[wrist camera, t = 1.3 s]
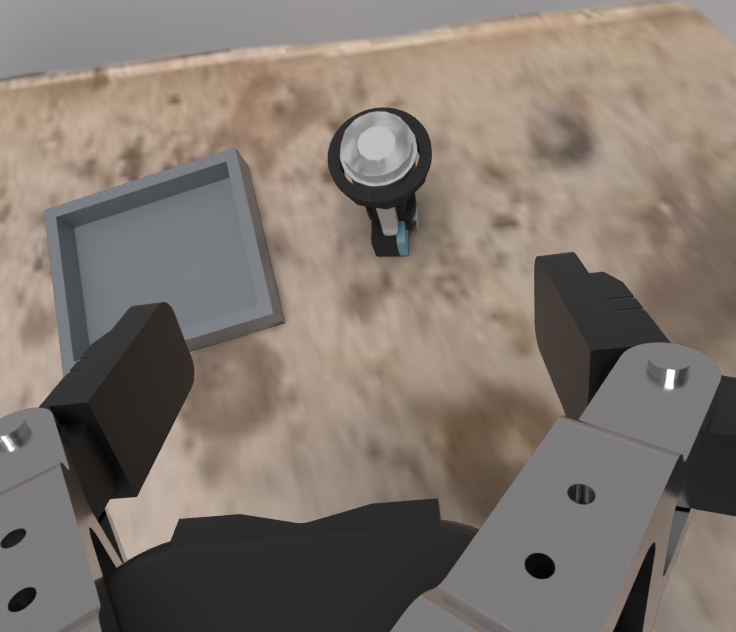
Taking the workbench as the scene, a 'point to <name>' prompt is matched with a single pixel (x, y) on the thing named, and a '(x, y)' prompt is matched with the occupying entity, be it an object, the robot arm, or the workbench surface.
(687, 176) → the workbench surface
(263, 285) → the tray
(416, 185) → the push button
